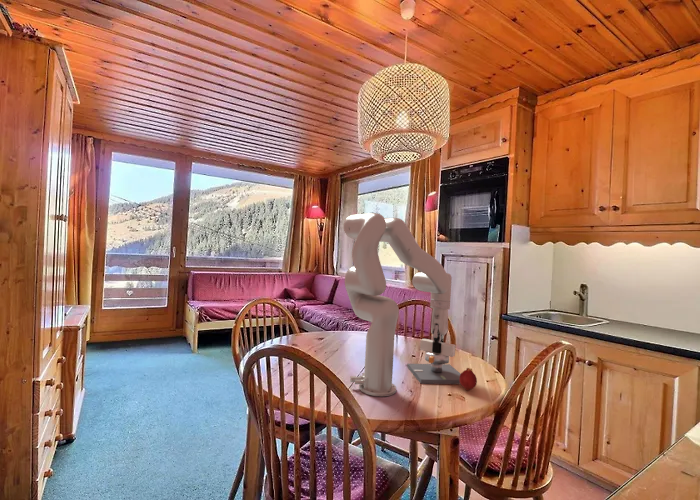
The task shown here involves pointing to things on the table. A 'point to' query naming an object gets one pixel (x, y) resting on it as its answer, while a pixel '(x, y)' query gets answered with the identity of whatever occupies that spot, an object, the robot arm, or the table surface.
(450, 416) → the table surface
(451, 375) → the base
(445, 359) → the cap
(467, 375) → the onion
